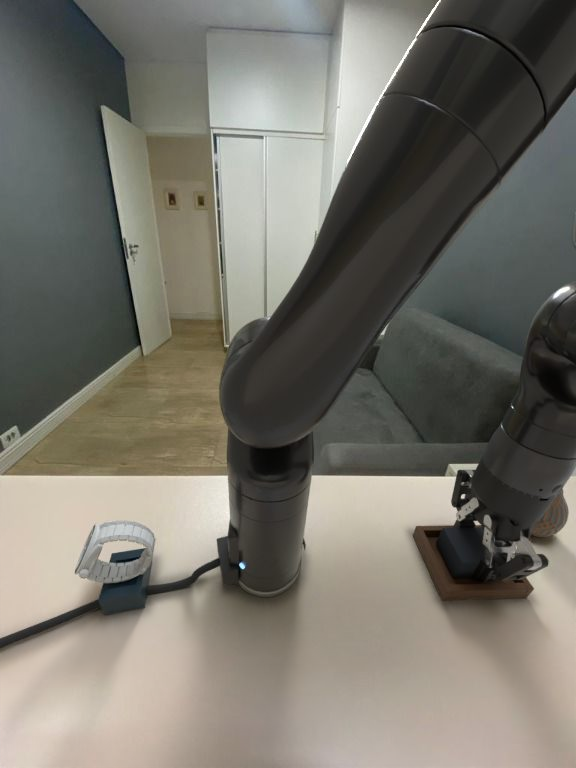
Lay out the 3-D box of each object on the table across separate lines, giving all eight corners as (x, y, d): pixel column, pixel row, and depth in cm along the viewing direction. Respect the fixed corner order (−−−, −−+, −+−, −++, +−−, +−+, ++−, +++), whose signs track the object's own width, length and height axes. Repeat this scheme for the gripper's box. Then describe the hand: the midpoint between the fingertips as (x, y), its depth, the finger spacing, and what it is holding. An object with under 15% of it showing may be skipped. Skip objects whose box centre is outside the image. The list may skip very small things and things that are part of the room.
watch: (100, 570, 40) (76, 514, 34) (166, 559, 41) (153, 504, 36) (85, 619, 35) (55, 563, 30) (160, 604, 37) (144, 549, 31)
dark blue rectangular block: (453, 578, 41) (462, 562, 39) (435, 542, 45) (442, 527, 43) (503, 576, 41) (514, 561, 39) (480, 541, 45) (490, 526, 44)
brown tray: (441, 600, 39) (446, 591, 38) (412, 534, 47) (416, 525, 46) (527, 597, 40) (534, 588, 39) (484, 533, 48) (489, 524, 47)
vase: (563, 549, 46) (595, 510, 42) (513, 539, 47) (539, 500, 43) (540, 511, 52) (566, 473, 48) (496, 503, 53) (517, 465, 49)
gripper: (455, 427, 40) (420, 513, 49) (538, 525, 28) (473, 618, 36) (509, 428, 41) (466, 513, 49) (614, 524, 29) (532, 615, 37)
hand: (469, 557), depth 43 cm, fingers closed on dark blue rectangular block, 5 cm apart
